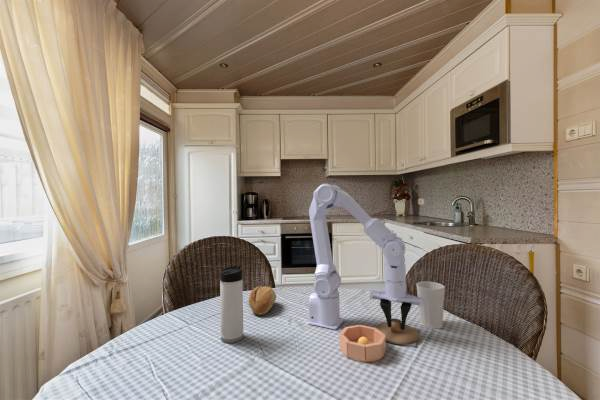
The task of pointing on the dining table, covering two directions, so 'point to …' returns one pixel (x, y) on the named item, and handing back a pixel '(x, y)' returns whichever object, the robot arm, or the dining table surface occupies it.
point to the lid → (398, 332)
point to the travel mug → (231, 304)
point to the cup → (431, 304)
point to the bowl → (361, 351)
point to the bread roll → (261, 299)
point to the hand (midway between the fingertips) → (396, 327)
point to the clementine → (363, 340)
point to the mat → (411, 343)
